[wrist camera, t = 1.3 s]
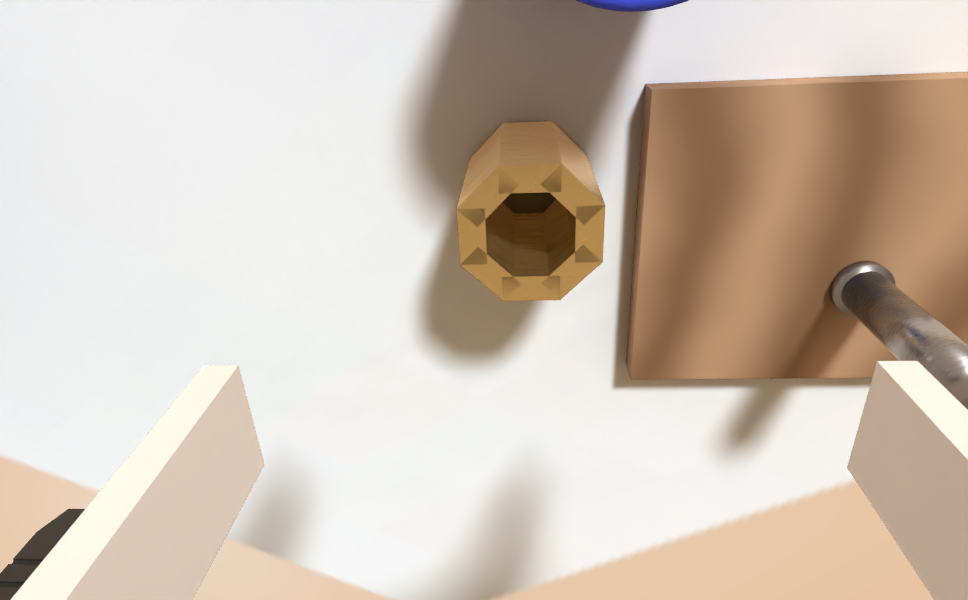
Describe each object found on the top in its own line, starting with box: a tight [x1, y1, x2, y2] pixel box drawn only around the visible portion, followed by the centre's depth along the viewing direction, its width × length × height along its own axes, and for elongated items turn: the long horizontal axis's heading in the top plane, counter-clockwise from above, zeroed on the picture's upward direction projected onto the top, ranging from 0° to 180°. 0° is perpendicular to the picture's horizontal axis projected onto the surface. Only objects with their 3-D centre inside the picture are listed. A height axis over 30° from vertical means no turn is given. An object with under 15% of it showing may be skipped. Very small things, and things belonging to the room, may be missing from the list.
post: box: [829, 261, 968, 410], centre depth 25 cm, size 3×3×8 cm
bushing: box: [456, 121, 605, 301], centre depth 26 cm, size 5×5×7 cm
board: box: [626, 72, 968, 380], centre depth 29 cm, size 16×14×2 cm
